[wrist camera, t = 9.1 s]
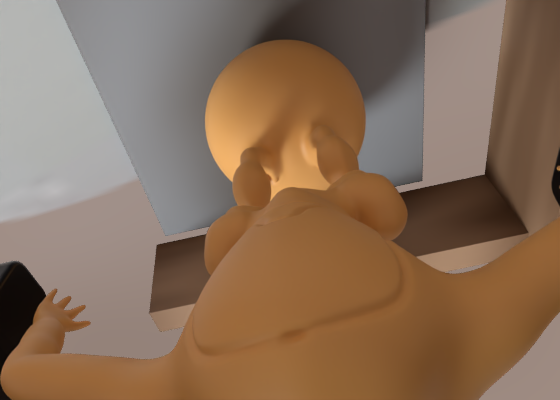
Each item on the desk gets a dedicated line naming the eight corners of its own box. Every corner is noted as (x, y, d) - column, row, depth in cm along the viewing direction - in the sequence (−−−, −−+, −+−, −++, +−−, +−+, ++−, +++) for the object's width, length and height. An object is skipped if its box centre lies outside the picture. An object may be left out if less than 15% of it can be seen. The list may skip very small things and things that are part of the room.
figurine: (168, 182, 15) (111, 760, 6) (61, -7, 11) (-538, 772, 2) (426, 102, 15) (811, 619, 5) (403, -129, 11) (1626, 281, 1)
